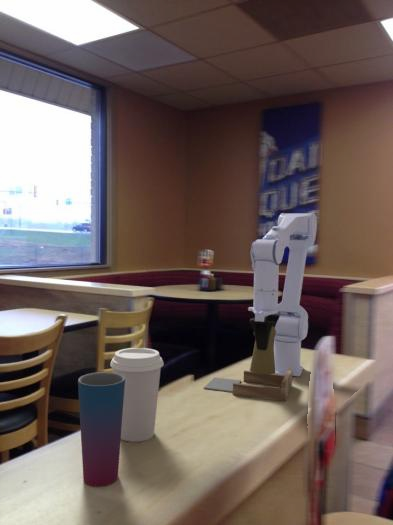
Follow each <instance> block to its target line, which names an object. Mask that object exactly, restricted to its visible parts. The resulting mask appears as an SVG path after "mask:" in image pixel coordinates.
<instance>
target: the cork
mask: <svg viewBox="0 0 393 525" xmlns="http://www.w3.org/2000/svg"><path fill="white" fill-rule="evenodd" d="M275 335H276V330H275V328H274V327H273V326H272V329H271V332H270V336H269V342H268V347H267V350H258V349H257V345H256V339H255V340H254V344H253V345H254V346H253V352H252V357H251V362H250V368H249V371H251V372H254V373H258V374H274V373H275V359H274V338H275ZM253 336H254V337H255V334H254V333H253Z"/></svg>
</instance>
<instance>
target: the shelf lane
mask: <svg viewBox="0 0 393 525" xmlns="http://www.w3.org/2000/svg"><path fill="white" fill-rule="evenodd" d="M243 382H248V383H241V382H240V383H233V392H232V395H233V396H240V397H241V396H242V397H248V398H249V397H250V398H256V399H264V400H271V399H275V400H274V401H279V400H281V401H280V402H286V400H287V398H288V395H289V394H290V391H291V389H292V387H293V376H292V370H290V369H288V371H287V373H286V375H281V374H258V373H254V372H251V371H250V370H243ZM249 383H255V384H256V383H257V384H263V385H257V384H256V385H255V384H249ZM264 384H265V386H264ZM266 385H272V386H266ZM273 386H280V387H273Z"/></svg>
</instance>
